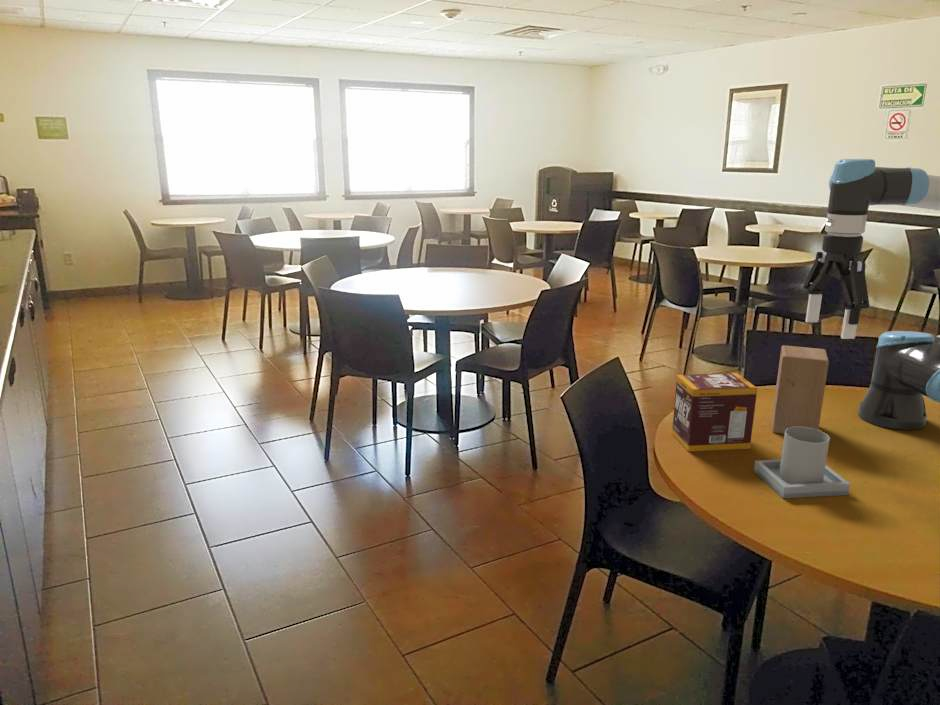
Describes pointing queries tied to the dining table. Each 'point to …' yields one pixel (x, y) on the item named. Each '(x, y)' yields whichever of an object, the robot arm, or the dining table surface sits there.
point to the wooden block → (799, 388)
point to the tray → (828, 487)
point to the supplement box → (714, 411)
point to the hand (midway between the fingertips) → (828, 329)
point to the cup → (803, 455)
